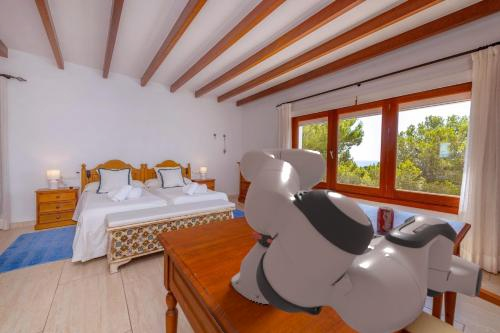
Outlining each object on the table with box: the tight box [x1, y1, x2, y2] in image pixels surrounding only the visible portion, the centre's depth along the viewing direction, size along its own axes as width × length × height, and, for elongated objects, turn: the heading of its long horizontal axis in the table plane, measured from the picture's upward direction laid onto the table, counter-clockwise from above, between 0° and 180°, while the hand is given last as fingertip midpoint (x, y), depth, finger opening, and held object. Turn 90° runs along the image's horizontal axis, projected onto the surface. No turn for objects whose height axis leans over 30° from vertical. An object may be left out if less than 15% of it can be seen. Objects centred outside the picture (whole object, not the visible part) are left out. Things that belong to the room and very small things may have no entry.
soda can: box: [376, 206, 395, 234], centre depth 105 cm, size 7×7×12 cm
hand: (362, 237), depth 75 cm, fingers open, 8 cm apart
